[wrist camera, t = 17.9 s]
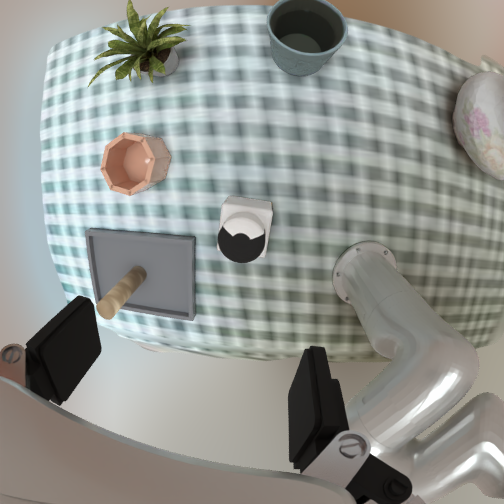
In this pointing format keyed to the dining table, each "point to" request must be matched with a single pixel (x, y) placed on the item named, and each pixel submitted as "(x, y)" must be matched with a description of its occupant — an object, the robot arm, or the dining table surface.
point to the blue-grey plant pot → (305, 34)
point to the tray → (155, 264)
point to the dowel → (121, 292)
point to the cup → (134, 163)
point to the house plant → (144, 47)
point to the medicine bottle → (244, 228)
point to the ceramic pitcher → (482, 121)
